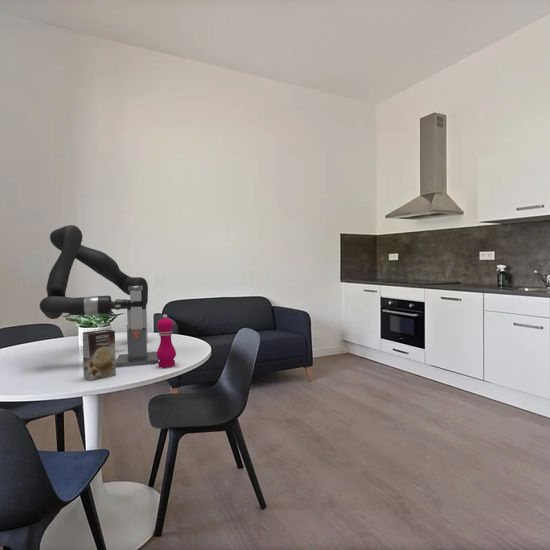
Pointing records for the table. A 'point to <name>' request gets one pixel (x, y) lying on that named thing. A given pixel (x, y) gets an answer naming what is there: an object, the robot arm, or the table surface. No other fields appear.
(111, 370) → the coffee box
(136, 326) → the post
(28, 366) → the table surface
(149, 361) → the stand
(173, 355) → the pepper mill
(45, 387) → the table surface
